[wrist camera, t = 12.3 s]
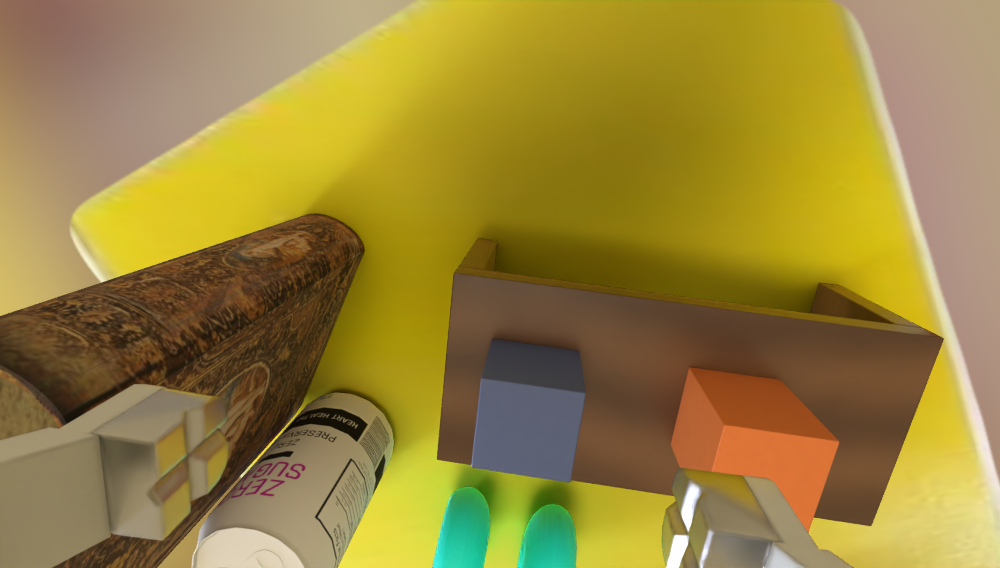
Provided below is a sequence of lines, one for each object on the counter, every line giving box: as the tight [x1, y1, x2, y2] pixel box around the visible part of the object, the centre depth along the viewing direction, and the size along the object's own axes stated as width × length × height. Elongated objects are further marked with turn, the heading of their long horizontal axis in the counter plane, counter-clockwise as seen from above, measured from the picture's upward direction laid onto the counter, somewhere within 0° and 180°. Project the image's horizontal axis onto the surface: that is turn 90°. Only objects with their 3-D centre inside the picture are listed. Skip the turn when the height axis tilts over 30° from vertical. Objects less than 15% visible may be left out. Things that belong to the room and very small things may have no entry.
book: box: [0, 214, 364, 568], centre depth 29 cm, size 16×6×25 cm, turn 155°
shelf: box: [437, 239, 944, 526], centre depth 34 cm, size 12×26×10 cm, turn 84°
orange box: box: [671, 367, 839, 532], centre depth 26 cm, size 5×5×6 cm
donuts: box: [432, 486, 577, 568], centre depth 40 cm, size 10×10×10 cm
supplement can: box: [191, 393, 394, 568], centre depth 36 cm, size 8×8×15 cm
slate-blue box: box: [471, 339, 586, 482], centre depth 27 cm, size 5×5×5 cm
